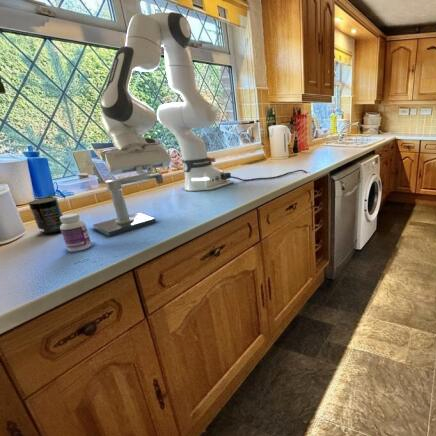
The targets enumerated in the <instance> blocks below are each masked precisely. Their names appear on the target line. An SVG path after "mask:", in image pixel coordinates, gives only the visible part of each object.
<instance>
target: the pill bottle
mask: <svg viewBox="0 0 436 436" xmlns="http://www.w3.org/2000/svg"><path fill="white" fill-rule="evenodd" d="M60 220H61V222H62V223H63V224H61V226H60V229H61V232H60V233H61V235H62V237H63V240H64V244H65V246H66V248H67V251H69V252H79V251H80V252H81V251H84V250H87V249H88V248H90V247H91V246H92V241H91V239H90V235H89V232H88V228H87V226H86V222H84V221H83V220H82V219H81V218H80V215H79V213H76V212H75V213H74V212H73V213H68V214H63V216H61V217H60Z"/></svg>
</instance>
